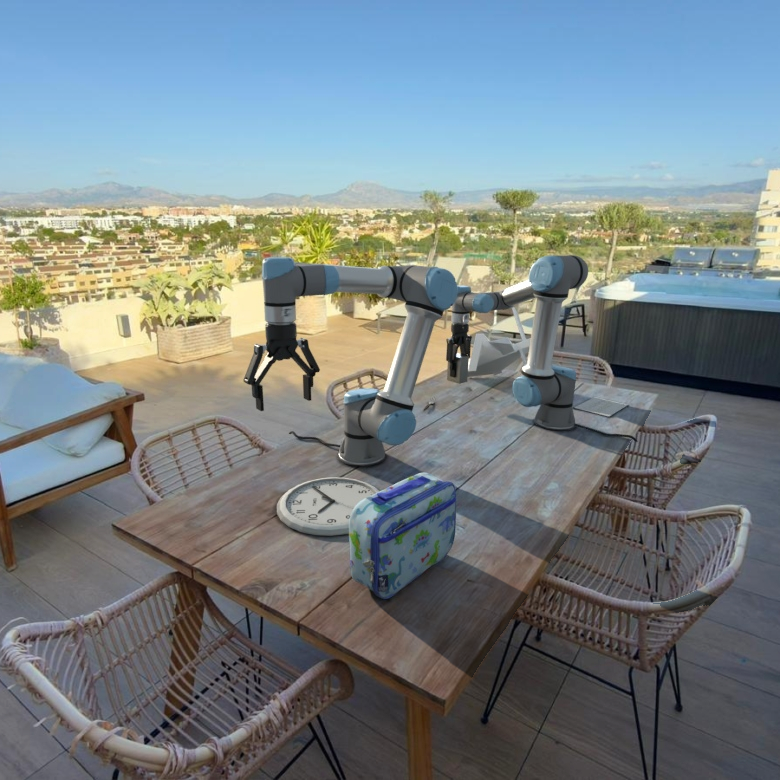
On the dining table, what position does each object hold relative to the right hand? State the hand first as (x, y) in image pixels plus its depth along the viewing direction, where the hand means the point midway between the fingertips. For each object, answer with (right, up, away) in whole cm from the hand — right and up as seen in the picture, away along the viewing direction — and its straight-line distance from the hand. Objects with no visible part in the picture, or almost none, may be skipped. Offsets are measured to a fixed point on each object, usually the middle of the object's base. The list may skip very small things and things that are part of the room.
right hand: (457, 375), depth 228 cm
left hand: (-57, -10, -94) cm, 110 cm away
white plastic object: (+25, -3, +29) cm, 38 cm away
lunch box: (-26, -47, -113) cm, 125 cm away
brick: (0, -2, +1) cm, 2 cm away
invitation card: (+62, -14, -2) cm, 64 cm away
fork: (-13, -13, -6) cm, 19 cm away
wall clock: (-45, -38, -86) cm, 104 cm away
